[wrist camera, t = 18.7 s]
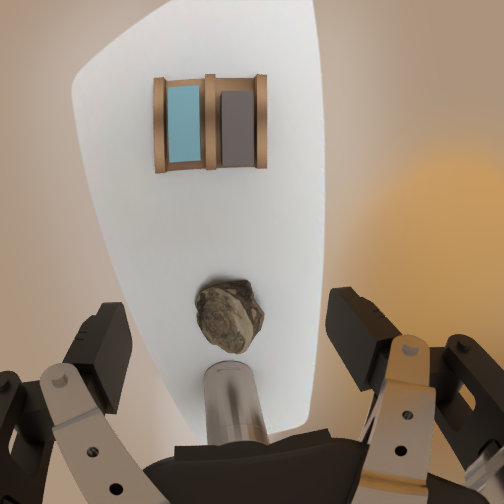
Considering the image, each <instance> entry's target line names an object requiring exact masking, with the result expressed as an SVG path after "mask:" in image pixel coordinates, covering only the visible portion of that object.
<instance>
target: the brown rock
mask: <svg viewBox="0 0 504 504" xmlns="http://www.w3.org/2000/svg"><path fill="white" fill-rule="evenodd" d="M253 296H254V295H253V291H252V288H251V284H250V283H249V282H248V281H240V282H236V283H232V282H229V283H224V284H220V285H215V286H213V287H210V288H207V289H204V290H203V291H201V292H200V293H199V295H198V297H197V299H196V303H195V305H196V308H197V311H198V314H197V318H198V319H197V322H198V325H199V327H200V328H201V331H202V333H203V334H204V336H205V337H206V338H207V340H208V341H209V342H210V343H211V344H213V345H218V346H219V347H221V349H223V350H225V351H226V352H228V353H235V354H241V353H243V352H245V351H246V350H247V349H248V347H249V345H250V344H251V342H252V340H253V339H254V337H255V336H256V334H257V333H258V332H259V331H260V330H261V328H262V323H263V320H264V312H263V310H262V309H261V308H260V307H259V306H258V305H257V303H256V302H255V300H254V298H253Z"/></svg>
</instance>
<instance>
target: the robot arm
mask: <svg viewBox="0 0 504 504" xmlns="http://www.w3.org/2000/svg"><path fill="white" fill-rule="evenodd" d="M325 326H326V332H327V335H328V337H329V339H330V341H331V342H332V344H333V345H334V347H335V349H336V351H337V352H338V354H339V356H340V357H341V359H342V361H343V362H344V364H345V366H346V368H347V369H348V371H349V372H350V374H351V376H352V378H353V379H354V381H355V383H356V384H357V386H358V388H359V390H360V391H361V392H362V391H366V390H369V389H373V391H374V394H373V397H372V400H371V404H370V407H369V411H368V414H367V417H366V420H365V424H364V426H363V430H362V433H361V436H360V438H359V440H358V441H355V440H351V439H345V438H331V436H330V433H329V431H328V429H322V430H318V431H313V432H309V433H303V434H298V435H293V436H290V437H287V438H285V439H282V440H280V441H277V442H275V443H272V444H270V443H269V439H268V435H267V431H266V427H265V423H264V418H263V414H262V410H261V406H260V402H259V397H258V393H257V388H256V384H255V380H254V375H253V372H252V370H251V369H250V368H249V367H248V366H247V365H245V364H243V363H240V362H234V361H226V362H221V363H218V364H216V365H214V366H212V367H211V368H209V369H208V370H207V372H206V373H205V376H204V391H205V412H206V428H207V442H208V445H202V446H175V450H174V452H175V453H174V456H173V457H169V458H166V459H163V460H160V461H158V462H155V463H153V464H151V465H149V466H148V467H146V468H145V469H143V470H142V469H141V468H140V467H139V466H138V464H137V463H136V462H135V460H134V459H133V458H132V456H131V455H130V454H129V452H128V451H127V450H126V448H125V447H124V446H123V444H122V443H121V441H120V440H119V438H118V437H117V435H116V434H115V433H114V431H113V429H112V428H111V426H110V425H109V423H108V422H107V420H106V418H105V413H107V414H117V409H118V405H119V400H120V396H121V392H122V387H123V383H124V379H125V375H126V371H127V367H128V364H129V359H130V356H131V352H132V337H131V332H130V329H129V325H128V321H127V317H126V313H125V309H124V305H123V304H122V303H121V302H112V303H110V302H109V303H102V305H101V307H100V309H99V310H98V312H97V314H96V315H92V316H90V317H89V318H88V319H87V320H86V321H85V322H83V324H82V325H81V327H80V329H79V331H78V333H77V335H76V337H75V340H74V341H73V342H72V344H71V346H70V348H69V350H68V352H67V354H66V356H65V358H64V360H63V362H62V363H58V364H55V365H52V366H51V367H49V368H47V369H46V370H45V371H44V372H43V374H42V376H41V377H40V380H38V381H31V382H24V383H22V382H21V380H20V378H19V376H18V375H17V374H16V373H15V372H13V371H3V372H0V504H42V501H43V494H44V488H45V482H46V476H47V472H48V466H49V462H50V457H51V453H52V448H53V444H54V441H57V444H58V446H59V448H60V450H61V453H62V455H63V457H64V459H65V461H66V463H67V465H68V467H69V469H70V471H71V473H72V475H73V477H74V479H75V481H76V483H77V485H78V487H79V488H80V490H81V492H82V494H83V495H84V497H85V499H86V501H87V502H88V504H504V370H503V369H502V368H501V367H500V366H499V365H498V364H497V363H496V362H495V361H494V360H493V359H492V358H491V356H489V354H487V352H486V351H485V350H484V349H483V348H482V347H481V346H480V345H479V344H478V343H477V342H476V341H475V340H474V339H472V338H470V337H468V336H466V335H462V334H455V335H452V336H450V337H449V338H448V341H447V343H446V346H445V347H429V346H428V344H427V343H426V342H425V341H424V340H422V339H420V338H419V337H416V336H413V335H402V334H401V333H400V332H399V330H398V329H397V328H396V327H395V326H394V325H393V324H392V323H391V322H390V321H389V319H388V318H387V317H385V315H384V314H383V313H382V312H381V311H379V309H378V308H377V307H376V306H375V305H374V303H372V302H371V301H369V300H367V299H365V298H363V297H359V295H358V294H357V293H356V292H355V291H354V290H353V289H352V288H351V287H342V288H332V289H331V291H330V294H329V301H328V309H327V315H326V324H325ZM463 384H465V385H466V387H467V388H468V389H469V391H470V392H471V393H472V394H473V396H474V397H475V401H476V405H475V409H474V411H472V409H471V408H470V406H469V405H468V404H467V402H466V401H465V400H464V398H463V397H462V396H461V395H460V393H459V390H460V389H461V387H462V385H463ZM434 420H435V422H436V423H437V425H438V426H439V428H440V430H441V431H442V433H443V434H444V436H445V438H446V439H447V441H448V443H449V444H450V446H451V447H452V449H453V451H454V453H455V454H456V456H457V458H458V460H459V461H460V463H461V465H462V467H463V468H464V470H465V472H466V473H465V483H464V484H463V486H462V485H459V484H456V483H454V482H451V481H448V480H446V479H443V478H441V477H438V476H435V475H433V474H431V473H428V466H429V460H430V453H431V445H432V437H433V427H434ZM13 429H15V430H16V431H17V436H16V439H15V442H14V445H13V448H12V452H11V455H10V453H9V448H8V446H9V441H10V438H11V435H12V432H13Z"/></svg>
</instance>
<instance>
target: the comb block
mask: <svg viewBox="0 0 504 504" xmlns="http://www.w3.org/2000/svg"><path fill="white" fill-rule="evenodd" d="M192 85H199V87H200V134H201V160H198V161H183V162H169V137H168V87H178V86H192ZM222 91H253V120H254V165H251V166H222V164H221V128H220V95H221V92H222ZM154 153H155V173H165V172H167V171H172V170H186V169H204V168H206V170H216V168H228V167H255V168H257V169H261V168H267V75H260V74H257V75H256V76H255V78H254V79H253V78H215V74H205V79H189V80H175V81H166V80H165V79H164V77H161V78H154Z"/></svg>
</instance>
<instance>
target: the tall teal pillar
mask: <svg viewBox="0 0 504 504" xmlns="http://www.w3.org/2000/svg"><path fill="white" fill-rule="evenodd" d="M168 137H169V162H183V161H198V160H201V134H200V87H199V85H192V86H178V87H168Z"/></svg>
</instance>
